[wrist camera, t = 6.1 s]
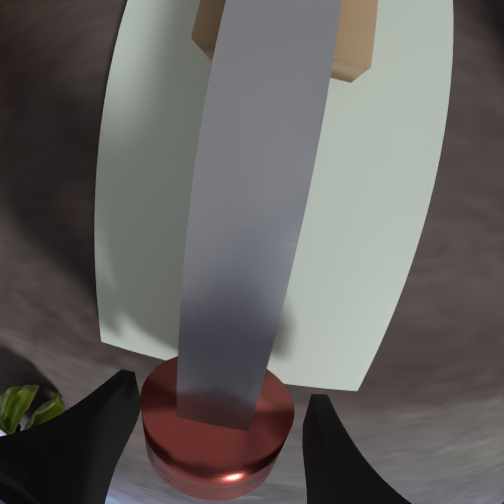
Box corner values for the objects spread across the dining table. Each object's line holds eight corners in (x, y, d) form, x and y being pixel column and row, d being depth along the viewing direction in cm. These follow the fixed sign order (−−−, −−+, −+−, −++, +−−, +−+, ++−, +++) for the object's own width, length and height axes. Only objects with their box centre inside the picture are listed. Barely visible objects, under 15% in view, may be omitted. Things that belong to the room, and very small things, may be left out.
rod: (374, -66, 6) (413, -142, 1) (272, 422, 13) (267, 515, 8) (237, -88, 6) (215, -171, 1) (166, 401, 13) (132, 487, 8)
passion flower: (107, 408, 25) (84, 507, 19) (13, 363, 22) (-11, 462, 16) (106, 414, 16) (78, 553, 10) (-28, 344, 13) (-56, 483, 7)
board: (432, -90, 5) (438, -97, 4) (354, 377, 15) (357, 390, 14) (196, -128, 5) (192, -138, 5) (109, 330, 15) (101, 341, 14)
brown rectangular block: (360, 14, 8) (378, -14, 6) (350, 83, 9) (370, 67, 7) (224, -9, 8) (212, -40, 6) (209, 59, 9) (191, 38, 7)
